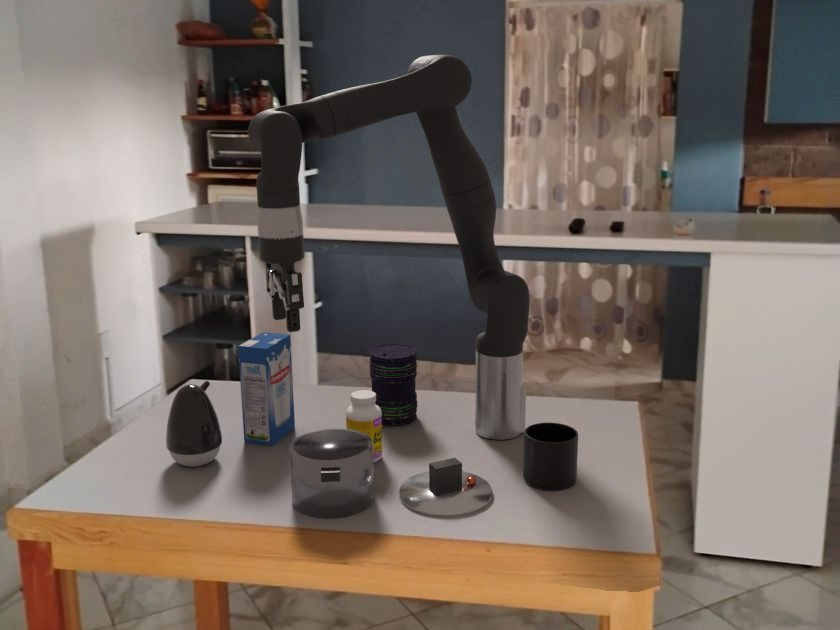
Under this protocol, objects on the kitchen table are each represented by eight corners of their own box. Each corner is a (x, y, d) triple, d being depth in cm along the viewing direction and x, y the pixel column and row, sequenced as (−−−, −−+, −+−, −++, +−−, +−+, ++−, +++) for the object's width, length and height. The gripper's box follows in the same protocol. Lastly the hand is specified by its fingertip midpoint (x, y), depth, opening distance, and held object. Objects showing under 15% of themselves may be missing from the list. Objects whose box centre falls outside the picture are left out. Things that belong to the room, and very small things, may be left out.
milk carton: (272, 446, 173) (266, 348, 168) (244, 442, 175) (237, 345, 170) (295, 427, 183) (290, 334, 177) (268, 424, 185) (262, 331, 179)
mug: (576, 464, 164) (578, 418, 162) (576, 493, 153) (578, 444, 151) (525, 460, 166) (526, 415, 164) (521, 489, 155) (522, 441, 152)
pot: (295, 477, 160) (292, 425, 157) (373, 474, 161) (371, 422, 158) (288, 525, 143) (285, 468, 140) (375, 521, 144) (374, 464, 141)
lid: (464, 469, 163) (464, 438, 162) (509, 506, 149) (510, 472, 148) (384, 486, 157) (384, 454, 155) (423, 526, 143) (423, 491, 141)
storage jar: (390, 406, 194) (388, 341, 190) (426, 416, 188) (426, 348, 184) (361, 420, 186) (359, 352, 182) (398, 431, 180) (397, 361, 176)
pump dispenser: (235, 455, 170) (230, 379, 166) (200, 476, 161) (194, 397, 157) (192, 446, 174) (186, 372, 170) (156, 467, 165) (149, 390, 161)
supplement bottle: (377, 467, 164) (376, 401, 161) (343, 464, 165) (340, 399, 162) (386, 452, 170) (384, 389, 167) (352, 449, 172) (350, 387, 168)
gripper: (315, 237, 144) (320, 332, 149) (290, 224, 157) (295, 312, 161) (270, 241, 141) (276, 338, 146) (248, 228, 154) (254, 318, 158)
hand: (286, 325), depth 153 cm, fingers open, 8 cm apart
